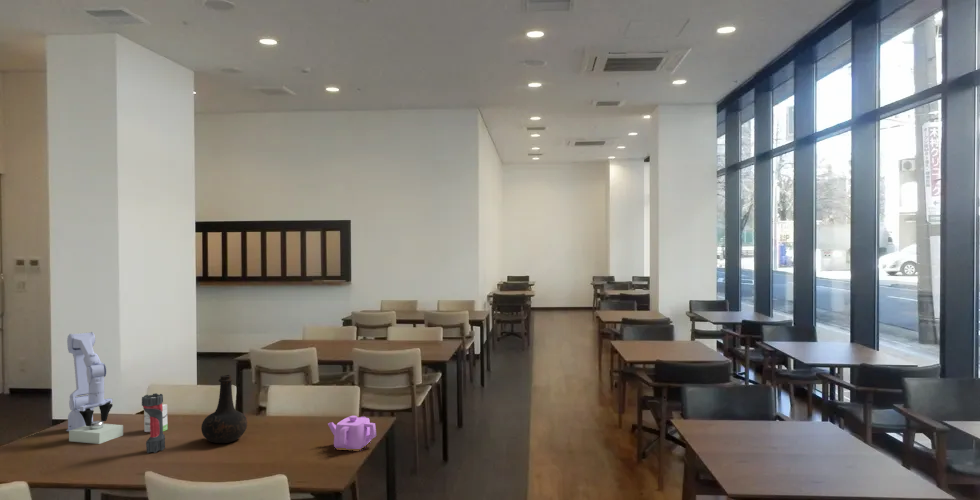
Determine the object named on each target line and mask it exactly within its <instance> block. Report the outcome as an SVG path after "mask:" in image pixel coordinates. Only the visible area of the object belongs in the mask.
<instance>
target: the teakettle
mask: <svg viewBox="0 0 980 500" xmlns="http://www.w3.org/2000/svg"><path fill="white" fill-rule="evenodd" d="M327 425H328V427H329V429H330V431H331V433H332V434H333V447H335V448H346V449H361V448H363V447H364V446H366V445H367V444H368V443H369V442H370V441H372V440H373V439H374V438H376V437H377V429H376V423H374V422H370V418H369V417H366V416H360V417H358V416H357V415H349V416H347V417H345V418H344V419H342V420H340V421H339V422H337V424H335V423H334V422H333V421H332V422H329V423H328V422H327ZM370 443H371V442H370ZM335 448H334V449H335Z"/></svg>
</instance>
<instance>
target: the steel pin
mask: <svg viewBox="0 0 980 500" xmlns="http://www.w3.org/2000/svg"><path fill="white" fill-rule="evenodd" d="M103 424H104V421H101V420H93V422H92V424H91V426H90V429H91V430H95V429H101V428H103Z"/></svg>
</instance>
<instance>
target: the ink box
mask: <svg viewBox="0 0 980 500" xmlns="http://www.w3.org/2000/svg"><path fill="white" fill-rule="evenodd" d="M162 407H163V410H162V416H163V432H165V431H167V430H168V429H169V428H168V427H169V425H168V422H169V421H168V404H167V403H166V404H163V403H162ZM143 411H144V410H143ZM143 415H144V422H143V423H144V429H143V430H144V433H145V432H146V433H150V431H151V430H150V416H149V414H148V413H147V412H145V411H144V414H143Z"/></svg>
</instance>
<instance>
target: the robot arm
mask: <svg viewBox="0 0 980 500" xmlns="http://www.w3.org/2000/svg"><path fill="white" fill-rule="evenodd" d="M66 339H67V341H66V343H67V352H68V353H69V354H72V356H73V363H74V374H75V376H74V377H75V390H74V391H72V392H71V393H70V394H69V401H68V403H69V409H70V412H69V413H68V416H67V429H66V430H65V431H66V432H69V431H70V430H73V429H76V428H79V427H82V426H85V425H86V426H91V424H92V422H93V421H94V411H95V408H99V412H100V421H103V422H106V421H108V420H107V419H108V417H109V413H110V411H111V409H112V407H113V398H110V397H109V398H105V377H106V375H107V367H106V364H105V363H104V362H102V361H101V359H100V357H99V354H98V353H96V352H95V350H94V345H95V343H96V336H95V333H94V332H93V331H91V332H82V333H79V332H78V333H69V334H68V335H67V338H66Z"/></svg>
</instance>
